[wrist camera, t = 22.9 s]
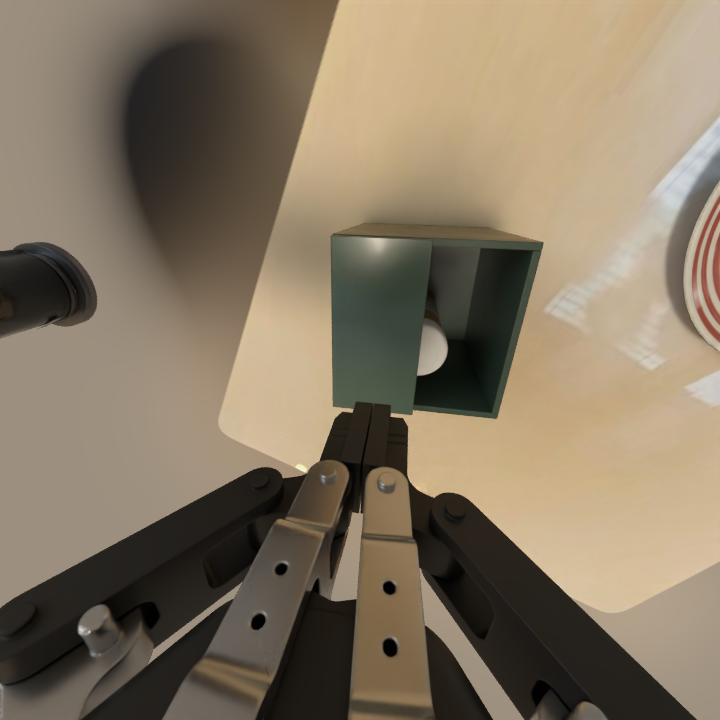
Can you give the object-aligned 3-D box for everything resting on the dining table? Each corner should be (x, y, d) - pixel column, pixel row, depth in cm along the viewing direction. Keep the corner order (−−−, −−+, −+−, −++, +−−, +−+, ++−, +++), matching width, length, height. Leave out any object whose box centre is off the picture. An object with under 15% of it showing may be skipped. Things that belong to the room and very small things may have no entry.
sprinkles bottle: (390, 295, 37) (380, 337, 25) (428, 278, 35) (436, 315, 23) (406, 329, 38) (403, 384, 26) (442, 314, 37) (456, 366, 25)
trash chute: (360, 334, 40) (334, 401, 26) (364, 222, 34) (332, 233, 21) (466, 343, 38) (497, 419, 25) (488, 227, 33) (544, 242, 19)
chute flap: (333, 404, 26) (332, 406, 26) (331, 234, 20) (330, 235, 20) (412, 412, 25) (412, 415, 25) (433, 239, 19) (433, 239, 19)
